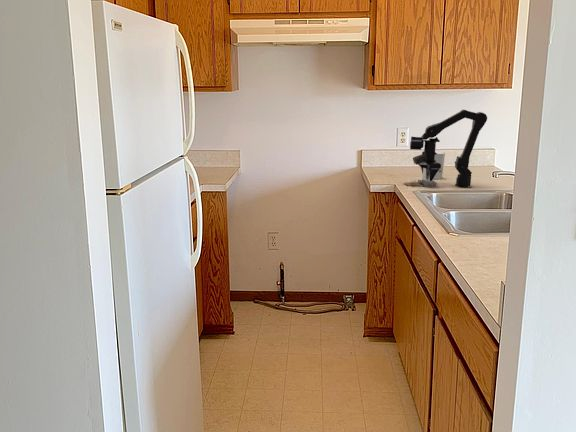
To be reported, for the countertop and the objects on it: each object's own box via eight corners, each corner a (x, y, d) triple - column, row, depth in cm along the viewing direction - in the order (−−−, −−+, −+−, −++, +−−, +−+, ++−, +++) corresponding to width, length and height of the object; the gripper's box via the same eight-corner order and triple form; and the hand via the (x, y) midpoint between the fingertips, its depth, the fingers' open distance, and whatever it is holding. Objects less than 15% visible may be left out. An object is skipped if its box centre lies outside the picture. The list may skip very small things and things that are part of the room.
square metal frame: (430, 183, 305) (430, 179, 304) (436, 186, 297) (436, 182, 296) (417, 183, 304) (418, 179, 303) (423, 186, 296) (423, 182, 295)
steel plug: (429, 184, 302) (430, 167, 300) (432, 185, 299) (433, 168, 296) (422, 184, 302) (423, 167, 300) (424, 185, 298) (426, 168, 296)
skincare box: (426, 178, 319) (428, 152, 315) (428, 176, 324) (430, 151, 320) (441, 179, 315) (443, 153, 312) (443, 178, 321) (445, 152, 317)
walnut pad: (416, 183, 303) (416, 182, 303) (421, 186, 296) (421, 184, 296) (404, 183, 302) (404, 182, 302) (408, 186, 295) (408, 185, 295)
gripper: (408, 147, 303) (406, 176, 307) (421, 152, 285) (419, 182, 289) (428, 147, 305) (426, 176, 309) (442, 152, 287) (440, 182, 291)
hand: (427, 179), depth 299 cm, fingers open, 9 cm apart
